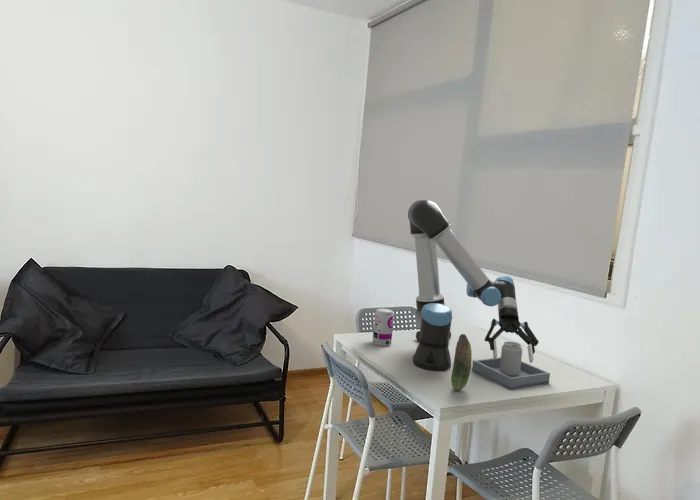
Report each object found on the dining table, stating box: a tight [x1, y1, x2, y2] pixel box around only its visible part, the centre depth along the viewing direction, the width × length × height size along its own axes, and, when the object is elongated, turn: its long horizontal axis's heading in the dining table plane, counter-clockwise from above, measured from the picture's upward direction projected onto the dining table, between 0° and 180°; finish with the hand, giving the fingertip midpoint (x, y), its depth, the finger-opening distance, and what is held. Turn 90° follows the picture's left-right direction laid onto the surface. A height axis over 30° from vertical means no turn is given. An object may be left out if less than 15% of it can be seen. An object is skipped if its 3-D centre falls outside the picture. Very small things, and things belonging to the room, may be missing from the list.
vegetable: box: [450, 333, 473, 392], centre depth 179 cm, size 6×6×20 cm
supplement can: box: [372, 307, 395, 347], centre depth 227 cm, size 8×8×15 cm
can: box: [500, 341, 523, 377], centre depth 198 cm, size 8×8×12 cm
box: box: [471, 356, 551, 390], centre depth 198 cm, size 20×20×4 cm
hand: (513, 359), depth 195 cm, fingers open, 13 cm apart
